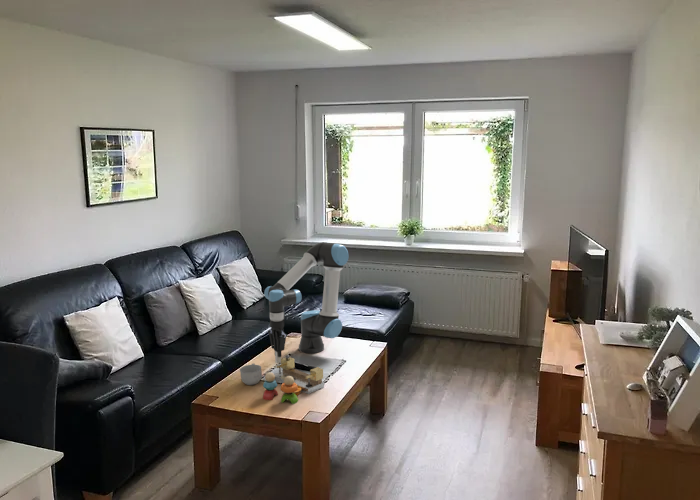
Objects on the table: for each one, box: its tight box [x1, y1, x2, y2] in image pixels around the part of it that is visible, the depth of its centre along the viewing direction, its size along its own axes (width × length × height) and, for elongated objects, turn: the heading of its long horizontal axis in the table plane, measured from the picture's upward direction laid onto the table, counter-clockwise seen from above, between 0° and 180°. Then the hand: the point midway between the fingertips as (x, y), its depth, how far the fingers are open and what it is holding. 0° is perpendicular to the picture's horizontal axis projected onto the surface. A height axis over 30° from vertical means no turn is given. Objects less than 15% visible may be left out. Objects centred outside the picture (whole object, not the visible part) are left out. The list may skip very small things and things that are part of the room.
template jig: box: [273, 366, 325, 395], centre depth 288 cm, size 11×27×9 cm, turn 48°
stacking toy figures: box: [262, 371, 302, 405], centre depth 272 cm, size 18×17×12 cm
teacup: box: [239, 362, 263, 386], centre depth 291 cm, size 14×11×8 cm
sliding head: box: [275, 355, 296, 374], centre depth 295 cm, size 10×5×8 cm, turn 138°
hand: (278, 362), depth 302 cm, fingers closed
